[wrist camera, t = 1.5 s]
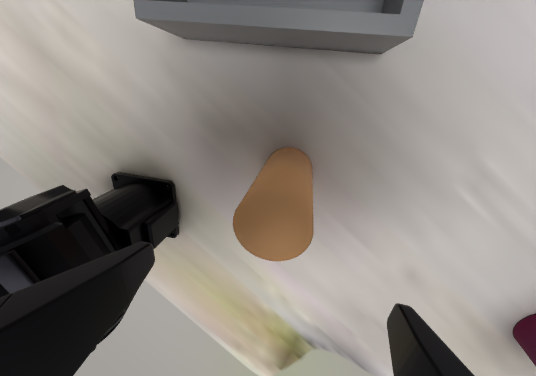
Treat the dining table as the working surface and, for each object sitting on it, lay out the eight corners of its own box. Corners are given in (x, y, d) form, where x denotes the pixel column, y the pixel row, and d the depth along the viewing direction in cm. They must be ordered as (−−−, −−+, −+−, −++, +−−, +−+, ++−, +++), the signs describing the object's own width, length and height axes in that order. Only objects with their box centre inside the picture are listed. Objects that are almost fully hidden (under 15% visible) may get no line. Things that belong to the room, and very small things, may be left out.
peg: (263, 187, 20) (231, 253, 12) (268, 144, 18) (234, 185, 10) (307, 194, 20) (306, 267, 11) (316, 150, 18) (320, 199, 10)
